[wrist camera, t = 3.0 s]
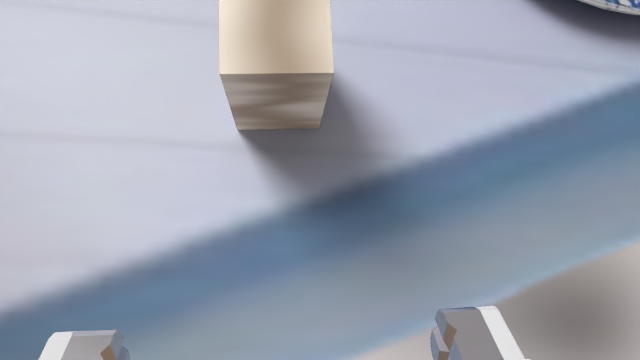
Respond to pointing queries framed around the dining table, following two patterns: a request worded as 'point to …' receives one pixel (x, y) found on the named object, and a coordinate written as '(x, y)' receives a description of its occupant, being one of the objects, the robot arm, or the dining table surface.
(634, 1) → the ceramic plate
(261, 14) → the ash block
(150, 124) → the dining table surface
